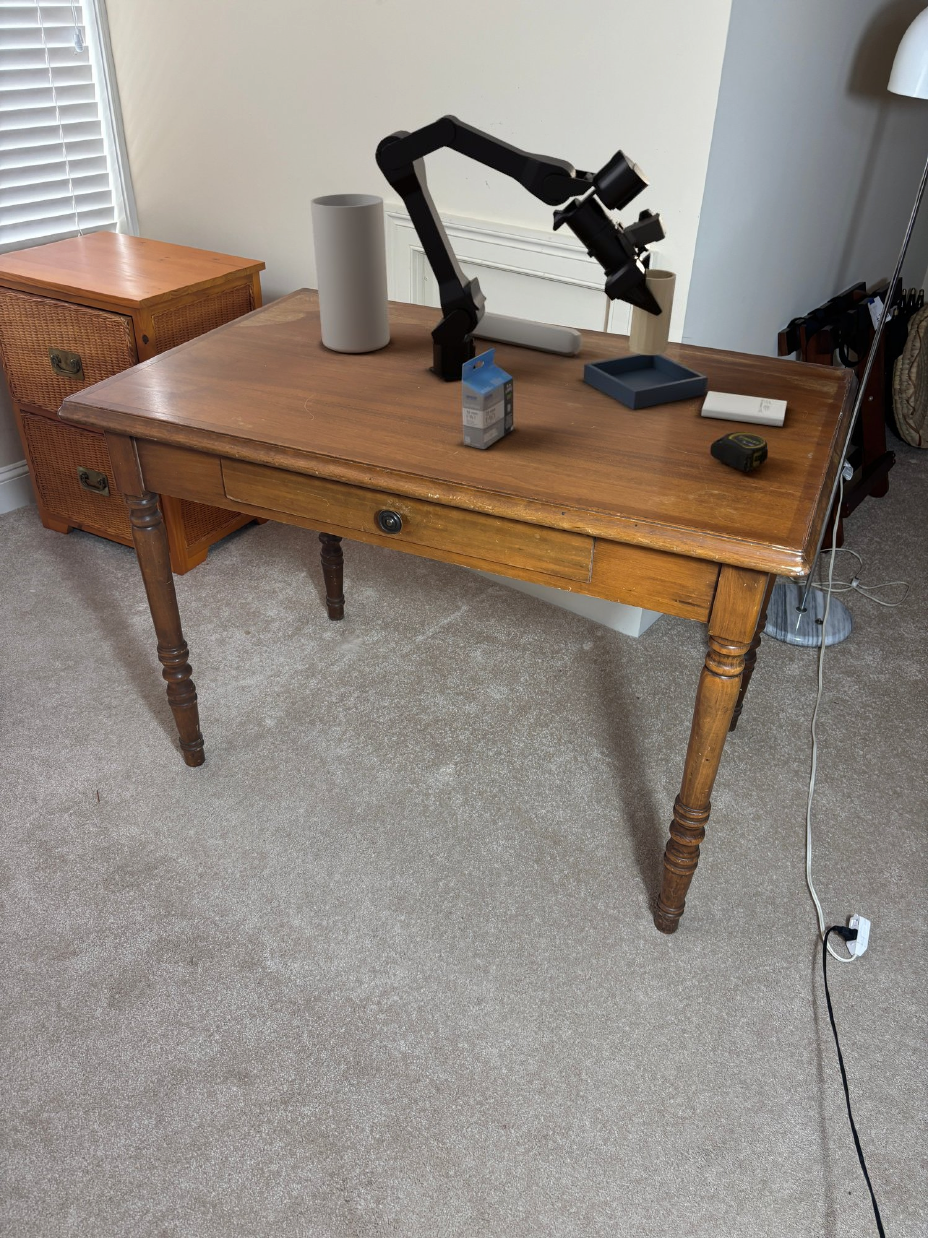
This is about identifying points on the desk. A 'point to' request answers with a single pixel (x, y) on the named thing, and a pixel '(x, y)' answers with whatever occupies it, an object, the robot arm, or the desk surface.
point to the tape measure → (740, 450)
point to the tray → (644, 380)
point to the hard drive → (744, 408)
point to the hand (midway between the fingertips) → (660, 307)
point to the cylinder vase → (351, 271)
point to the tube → (529, 334)
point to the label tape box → (486, 401)
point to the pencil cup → (653, 316)
